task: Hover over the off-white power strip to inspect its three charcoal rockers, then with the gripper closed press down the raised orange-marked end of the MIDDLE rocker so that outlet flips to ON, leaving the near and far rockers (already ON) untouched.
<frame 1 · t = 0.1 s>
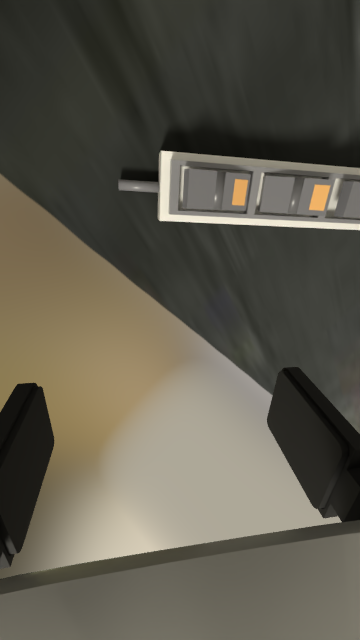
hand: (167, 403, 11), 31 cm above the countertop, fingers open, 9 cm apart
power strip: (275, 195, 38), on the countertop
rocker 2: (294, 196, 34), point 5 cm above the countertop, hinge at 14.0°
rocker 1: (216, 191, 32), point 5 cm above the countertop, hinge at -14.0°
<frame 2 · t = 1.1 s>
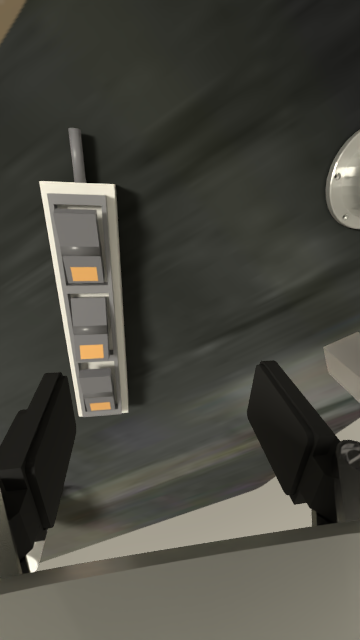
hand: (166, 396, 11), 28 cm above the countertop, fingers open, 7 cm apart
rocker 3: (98, 390, 38), point 5 cm above the countertop, hinge at -14.0°
soap dispenser: (342, 357, 50), on the countertop
mug: (37, 495, 54), on the countertop
power strip: (96, 312, 38), on the countertop
rocker 2: (91, 328, 34), point 5 cm above the countertop, hinge at 14.0°
rocker 1: (81, 248, 30), point 5 cm above the countertop, hinge at -14.0°
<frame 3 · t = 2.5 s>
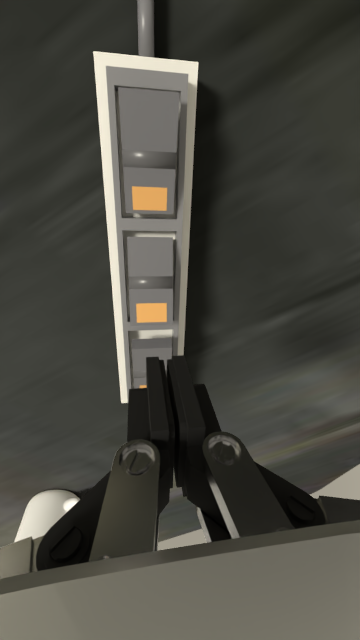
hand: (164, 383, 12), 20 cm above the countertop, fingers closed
rocker 3: (151, 368, 30), point 5 cm above the countertop, hinge at -14.0°
mug: (62, 497, 45), on the countertop
power strip: (149, 267, 30), on the countertop
rocker 2: (150, 282, 25), point 5 cm above the countertop, hinge at 14.0°
rocker 1: (149, 157, 21), point 5 cm above the countertop, hinge at -14.0°
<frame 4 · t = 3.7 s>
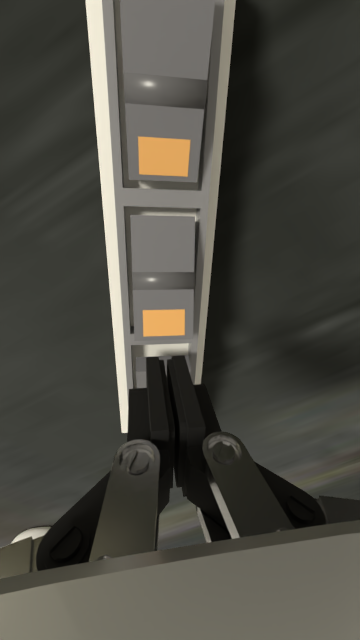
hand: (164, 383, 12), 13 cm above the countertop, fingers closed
rocker 3: (161, 394, 23), point 5 cm above the countertop, hinge at -14.0°
power strip: (158, 261, 23), on the countertop
rocker 2: (162, 280, 18), point 5 cm above the countertop, hinge at 14.0°
rocker 1: (164, 91, 14), point 5 cm above the countertop, hinge at -14.0°
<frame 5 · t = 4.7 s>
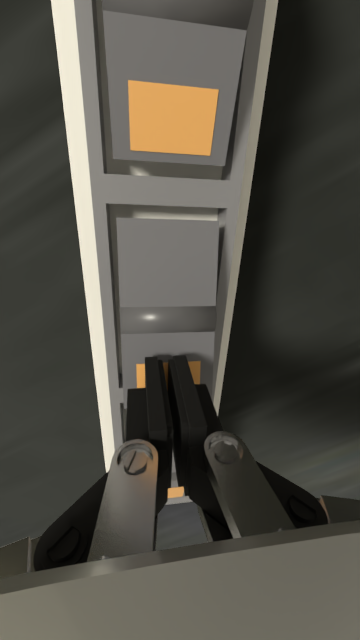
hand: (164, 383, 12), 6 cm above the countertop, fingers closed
rocker 3: (163, 464, 16), point 5 cm above the countertop, hinge at -14.0°
power strip: (159, 281, 16), on the countertop
rocker 2: (167, 316, 12), point 5 cm above the countertop, hinge at 13.5°, touching gripper
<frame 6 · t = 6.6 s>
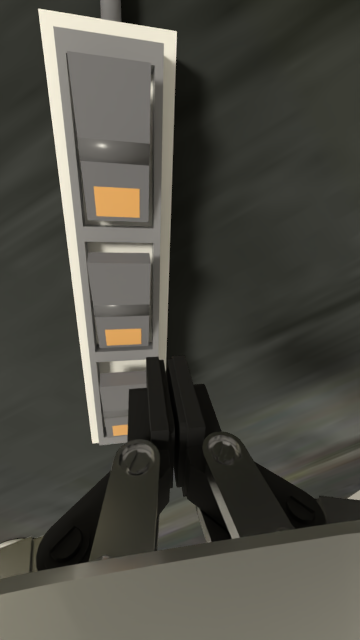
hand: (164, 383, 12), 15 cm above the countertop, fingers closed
rocker 3: (126, 406, 25), point 5 cm above the countertop, hinge at -14.0°
power strip: (123, 284, 25), on the countertop
rocker 2: (122, 304, 20), point 5 cm above the countertop, hinge at -17.5°
rocker 1: (115, 150, 16), point 5 cm above the countertop, hinge at -14.0°
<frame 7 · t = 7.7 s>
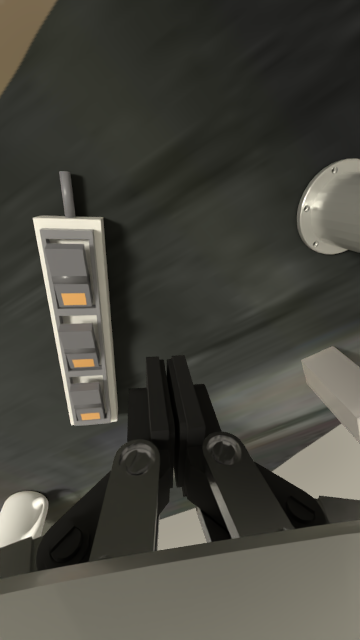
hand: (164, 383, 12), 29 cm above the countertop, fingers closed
rocker 3: (88, 402, 42), point 5 cm above the countertop, hinge at -14.0°
soap dispenser: (319, 369, 53), on the countertop
mug: (33, 497, 57), on the countertop
power strip: (86, 330, 42), on the countertop
rocker 2: (80, 347, 37), point 5 cm above the countertop, hinge at -19.9°, touching power strip
rocker 1: (71, 277, 33), point 5 cm above the countertop, hinge at -14.0°
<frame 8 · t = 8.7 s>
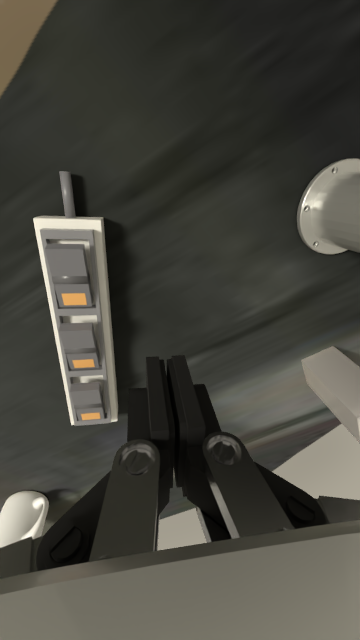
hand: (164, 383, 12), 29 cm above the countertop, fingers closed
rocker 3: (88, 402, 42), point 5 cm above the countertop, hinge at -14.0°
soap dispenser: (320, 369, 53), on the countertop
mug: (33, 497, 57), on the countertop
power strip: (86, 330, 42), on the countertop
rocker 2: (81, 347, 37), point 5 cm above the countertop, hinge at -17.8°
rocker 1: (71, 277, 33), point 5 cm above the countertop, hinge at -14.0°
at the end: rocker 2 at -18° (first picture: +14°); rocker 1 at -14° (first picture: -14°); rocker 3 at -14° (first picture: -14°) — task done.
